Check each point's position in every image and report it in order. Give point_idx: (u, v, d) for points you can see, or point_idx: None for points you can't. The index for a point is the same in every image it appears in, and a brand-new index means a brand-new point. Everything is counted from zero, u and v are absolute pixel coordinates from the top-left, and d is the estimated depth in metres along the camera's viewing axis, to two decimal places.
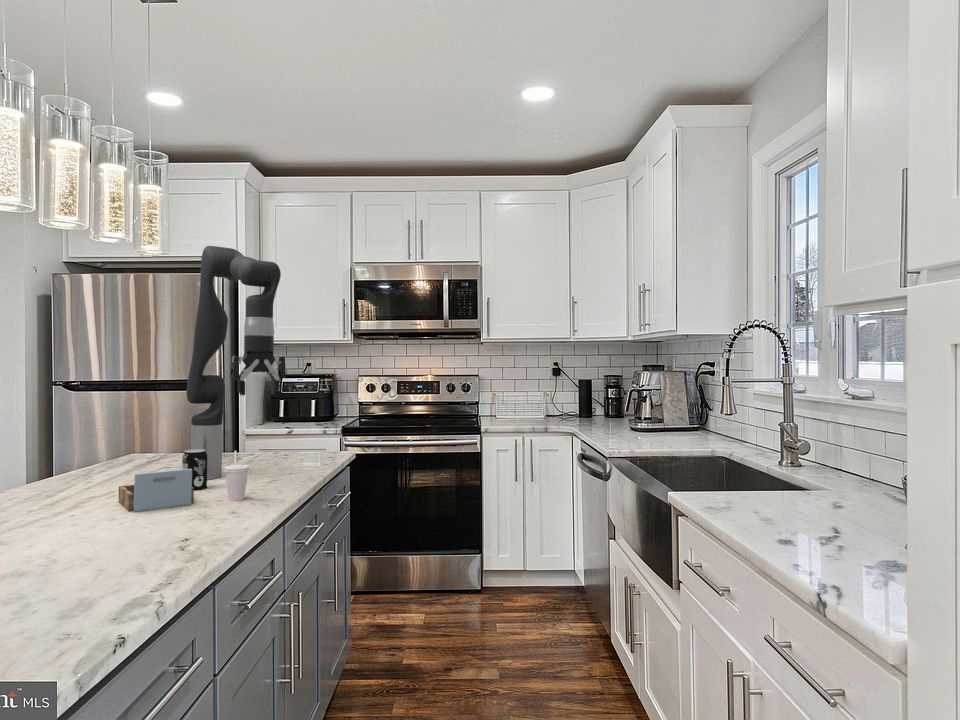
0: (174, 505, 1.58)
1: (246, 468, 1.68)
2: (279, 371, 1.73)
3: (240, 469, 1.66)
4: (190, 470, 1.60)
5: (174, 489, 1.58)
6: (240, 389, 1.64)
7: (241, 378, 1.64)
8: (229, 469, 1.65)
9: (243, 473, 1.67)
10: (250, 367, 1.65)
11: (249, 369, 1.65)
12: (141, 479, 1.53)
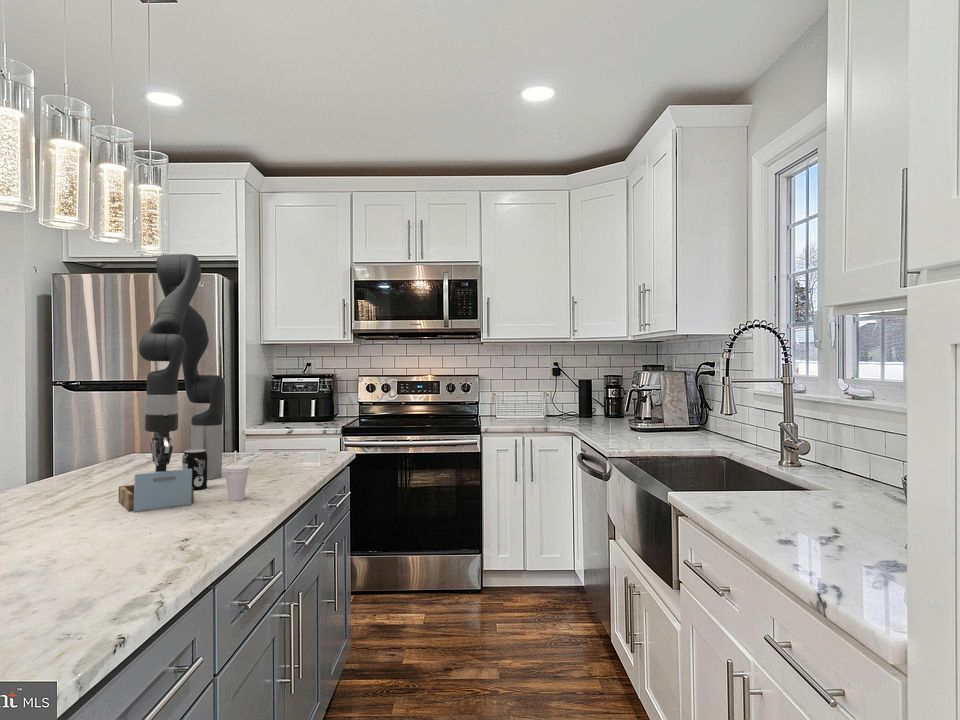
0: (174, 505, 1.58)
1: (246, 468, 1.68)
2: None
3: (240, 469, 1.66)
4: (190, 470, 1.60)
5: (174, 489, 1.58)
6: None
7: None
8: (229, 469, 1.65)
9: (243, 473, 1.67)
10: None
11: None
12: (141, 479, 1.53)
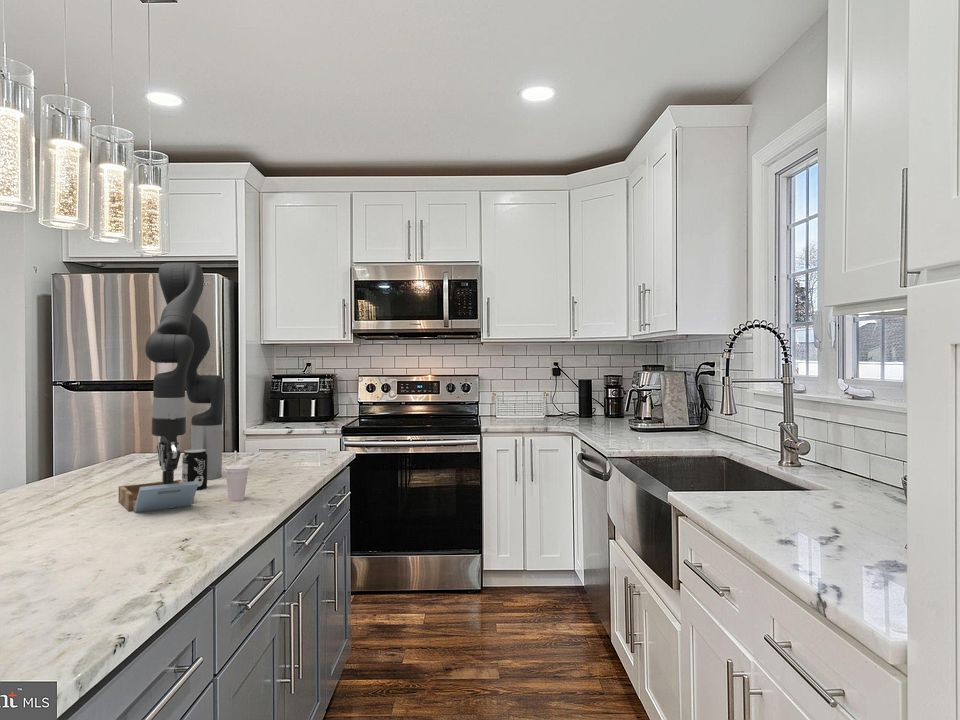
0: None
1: (246, 468, 1.68)
2: None
3: (240, 469, 1.66)
4: (196, 484, 1.56)
5: (177, 497, 1.56)
6: None
7: None
8: (229, 469, 1.65)
9: (243, 473, 1.67)
10: None
11: None
12: (145, 493, 1.49)
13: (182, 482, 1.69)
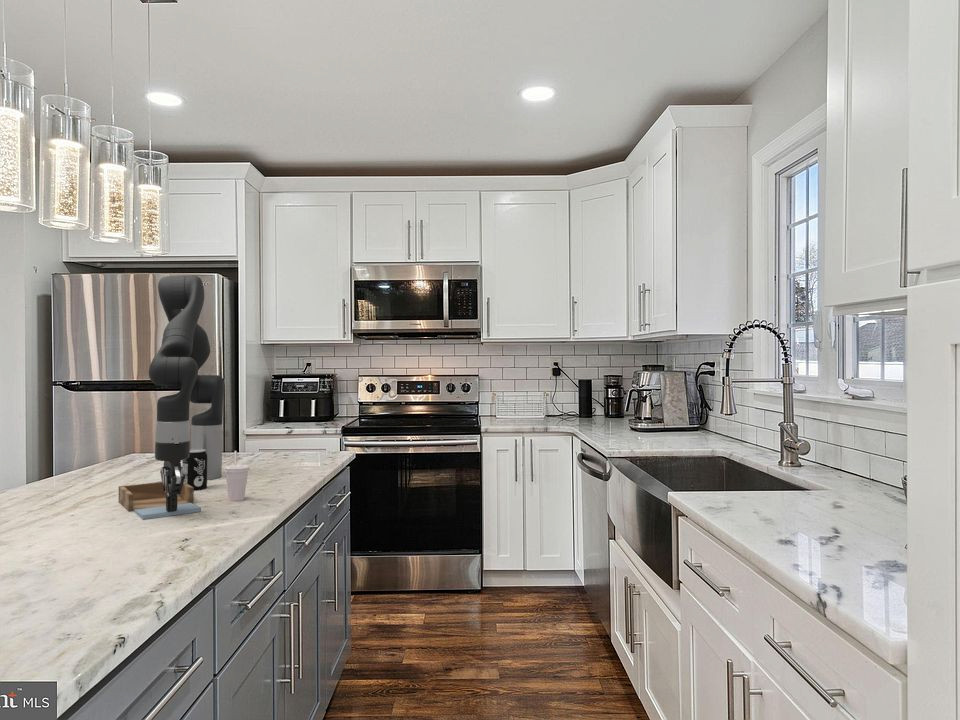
0: None
1: (246, 468, 1.68)
2: None
3: (240, 469, 1.66)
4: (199, 511, 1.54)
5: None
6: None
7: None
8: (229, 469, 1.65)
9: (243, 473, 1.67)
10: None
11: None
12: None
13: None
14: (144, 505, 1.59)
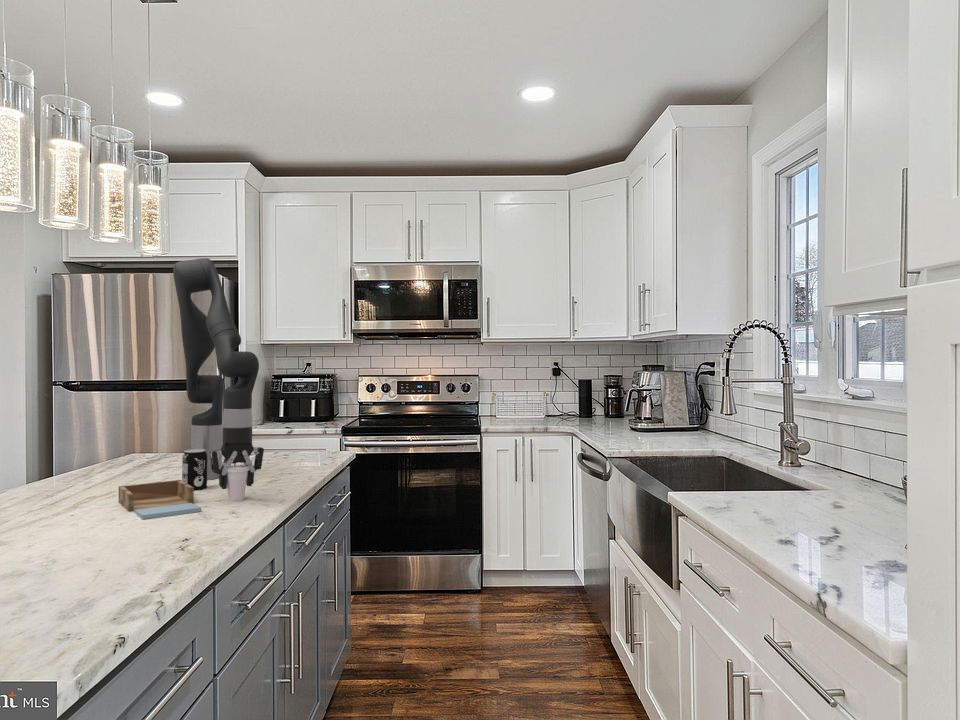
0: None
1: (246, 468, 1.68)
2: None
3: (240, 469, 1.66)
4: (199, 511, 1.54)
5: None
6: None
7: None
8: (229, 469, 1.65)
9: (243, 473, 1.67)
10: None
11: None
12: None
13: (182, 482, 1.69)
14: (144, 505, 1.59)
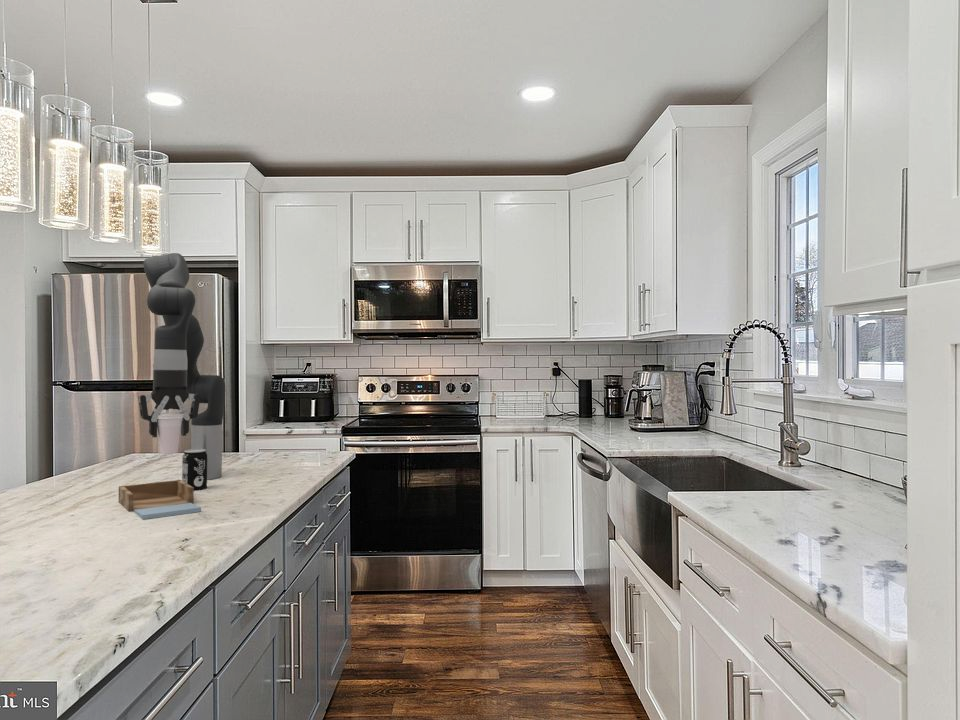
0: None
1: (179, 415, 1.53)
2: None
3: (172, 415, 1.51)
4: (199, 511, 1.54)
5: None
6: None
7: None
8: (160, 415, 1.51)
9: (176, 420, 1.52)
10: None
11: None
12: None
13: (182, 482, 1.69)
14: (144, 505, 1.59)
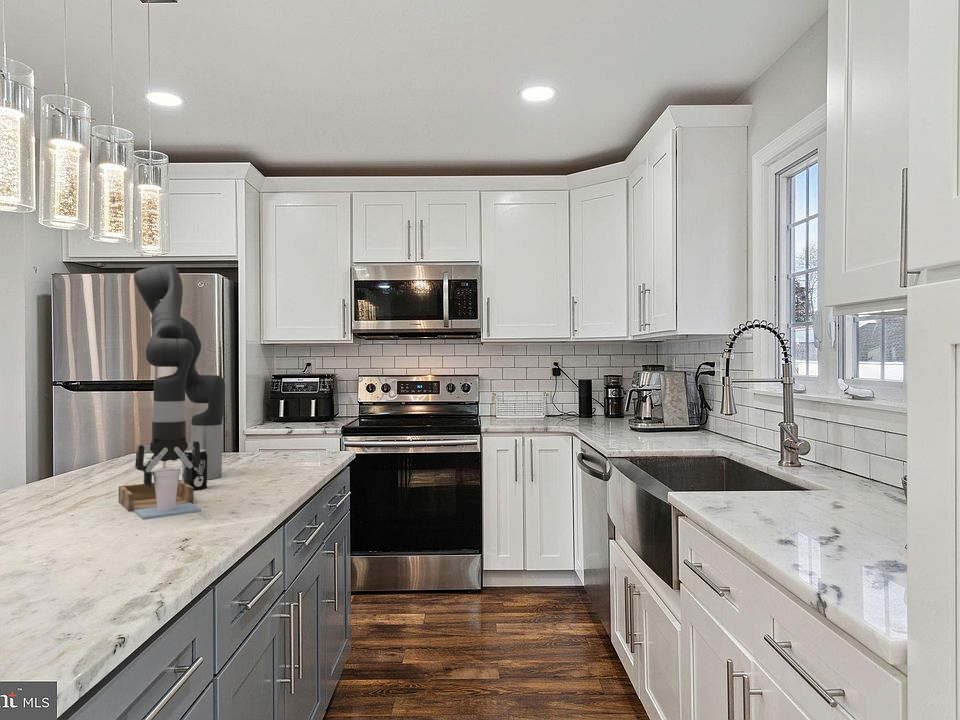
0: None
1: (176, 471, 1.53)
2: None
3: (169, 473, 1.51)
4: None
5: None
6: None
7: None
8: (157, 473, 1.51)
9: (173, 477, 1.52)
10: None
11: None
12: None
13: (182, 482, 1.69)
14: (144, 505, 1.59)
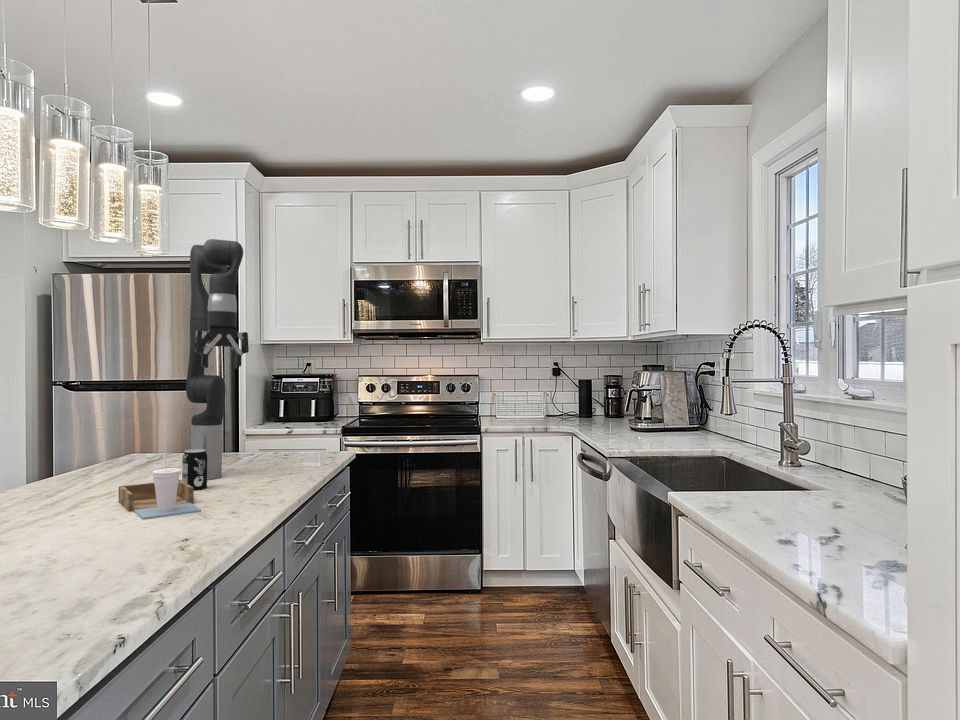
0: None
1: (176, 472, 1.53)
2: None
3: (169, 473, 1.51)
4: None
5: None
6: None
7: None
8: (157, 473, 1.51)
9: (173, 478, 1.52)
10: None
11: None
12: None
13: (182, 482, 1.69)
14: (144, 505, 1.59)
